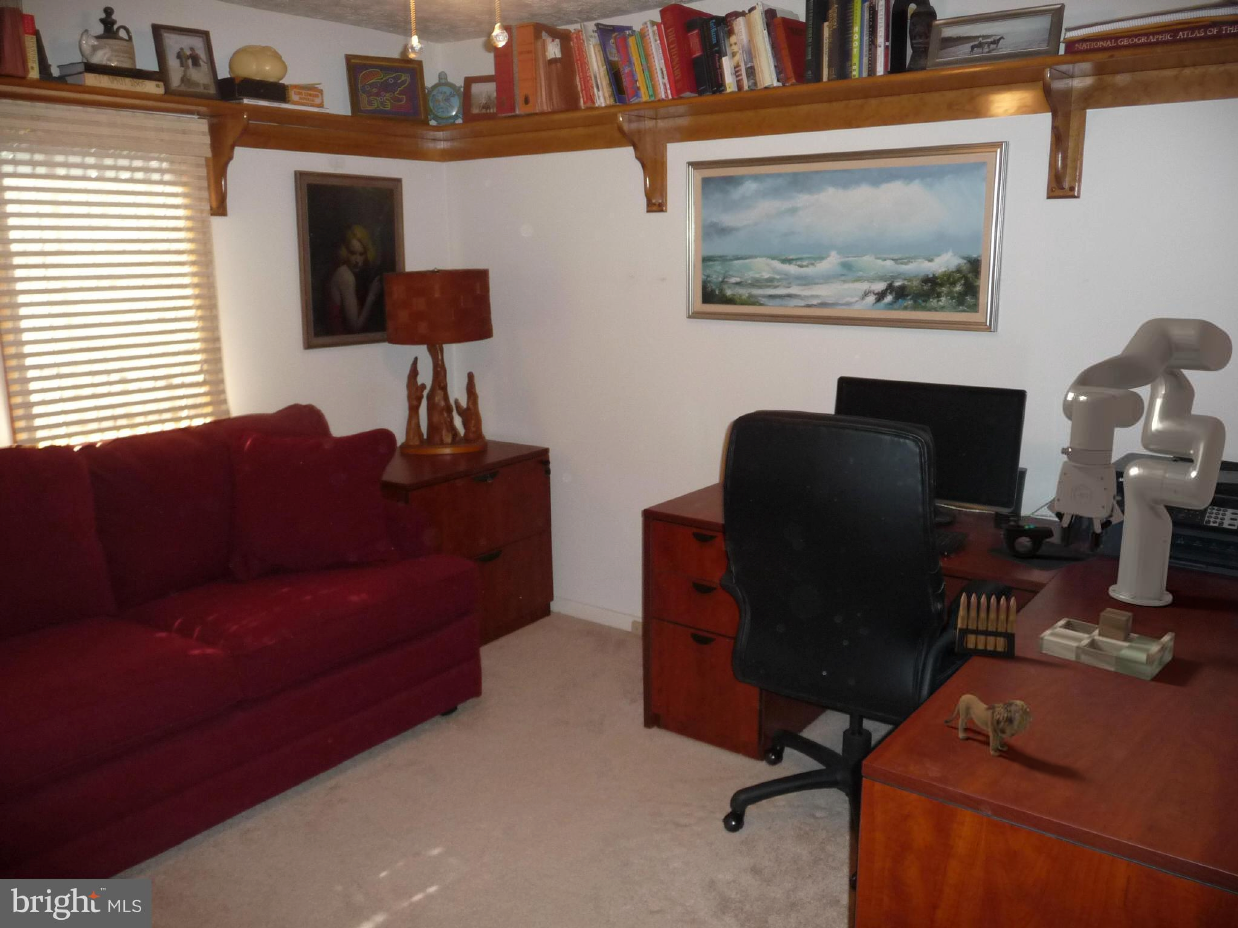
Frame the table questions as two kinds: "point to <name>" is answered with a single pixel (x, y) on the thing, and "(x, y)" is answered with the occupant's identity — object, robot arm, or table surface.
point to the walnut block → (1115, 624)
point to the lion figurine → (993, 719)
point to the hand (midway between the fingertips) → (1081, 547)
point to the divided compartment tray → (1107, 649)
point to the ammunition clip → (986, 628)
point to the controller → (1017, 531)
